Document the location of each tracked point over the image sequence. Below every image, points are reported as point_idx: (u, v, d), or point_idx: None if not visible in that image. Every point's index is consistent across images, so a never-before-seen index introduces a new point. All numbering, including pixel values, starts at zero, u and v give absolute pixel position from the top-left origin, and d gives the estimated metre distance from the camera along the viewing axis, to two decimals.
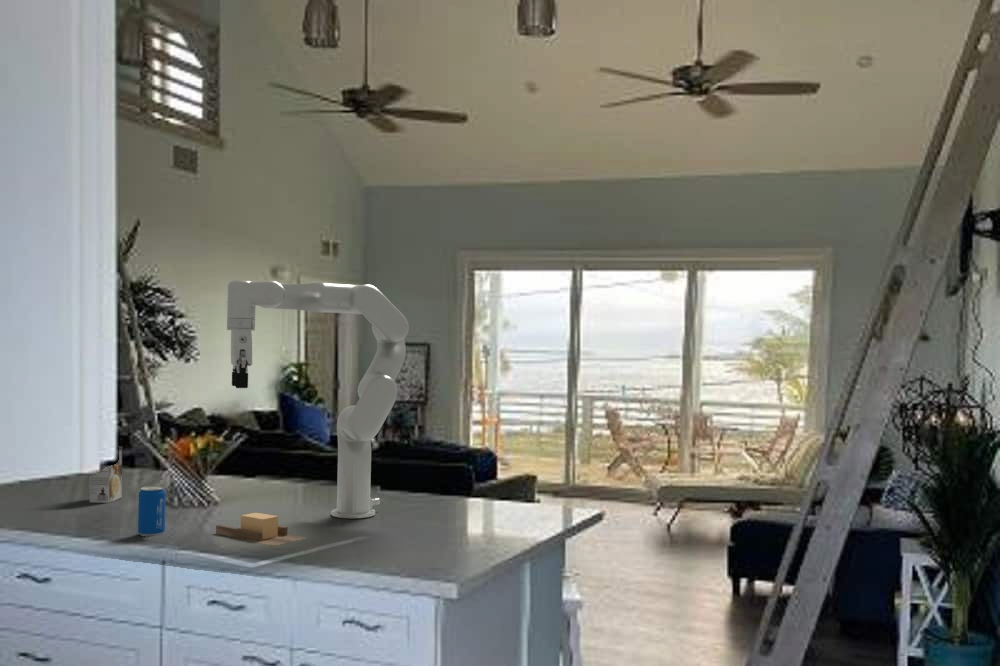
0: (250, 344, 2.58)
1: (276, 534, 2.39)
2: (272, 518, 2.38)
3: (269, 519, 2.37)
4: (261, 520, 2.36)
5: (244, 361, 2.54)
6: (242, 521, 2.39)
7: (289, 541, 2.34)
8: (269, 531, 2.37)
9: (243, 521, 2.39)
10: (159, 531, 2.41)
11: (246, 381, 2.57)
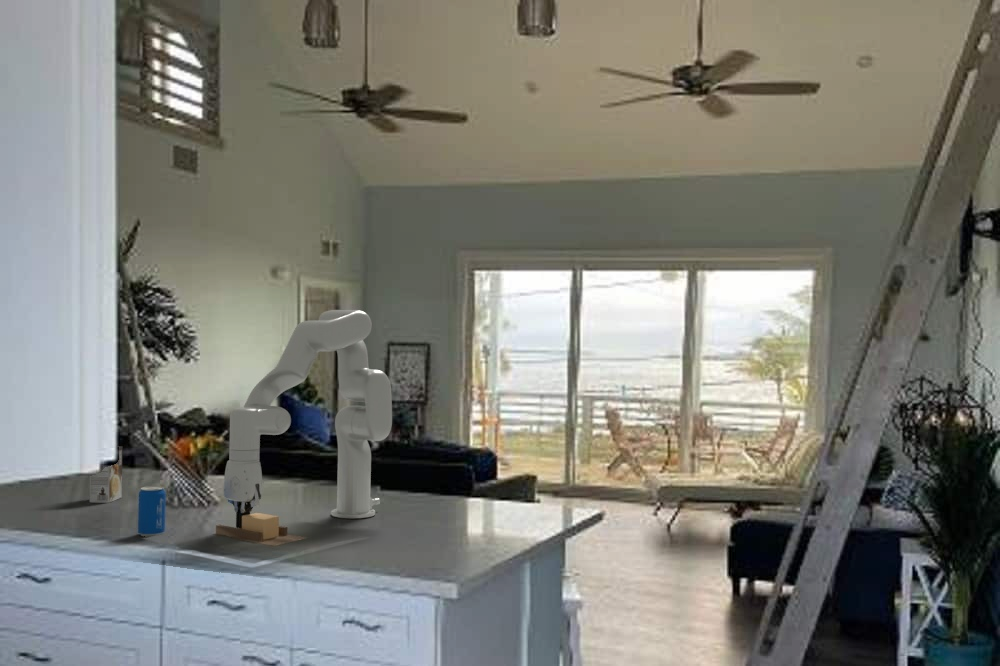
0: None
1: (277, 534, 2.39)
2: (273, 518, 2.38)
3: (270, 519, 2.37)
4: (262, 520, 2.35)
5: None
6: (243, 521, 2.39)
7: (289, 541, 2.34)
8: (270, 532, 2.37)
9: (244, 521, 2.39)
10: (159, 531, 2.41)
11: None
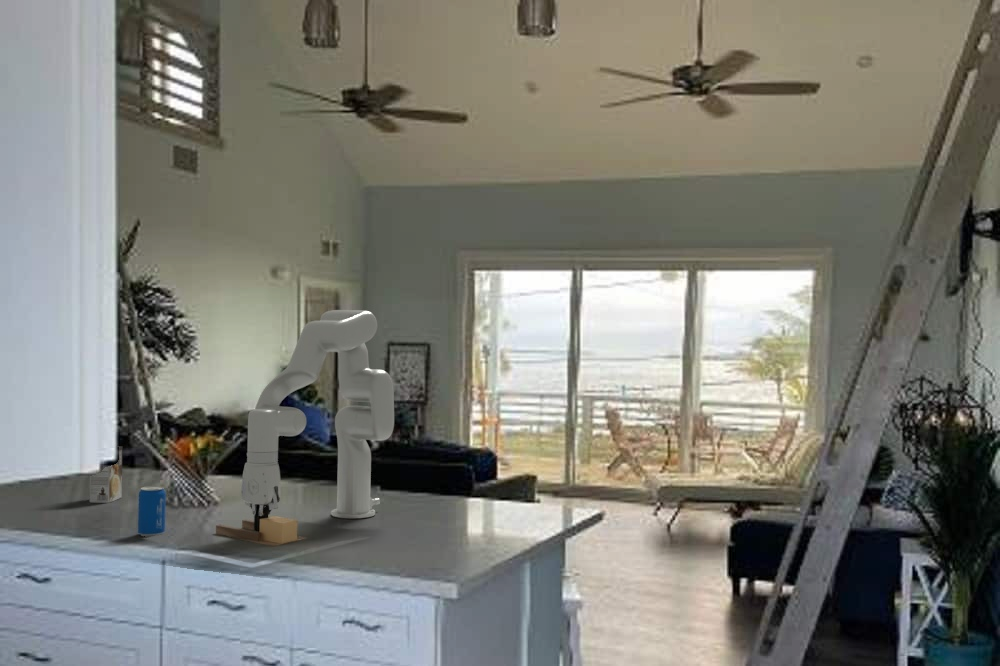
0: None
1: (295, 538, 2.35)
2: (292, 522, 2.34)
3: (288, 523, 2.33)
4: (280, 524, 2.31)
5: None
6: (261, 525, 2.35)
7: None
8: (288, 535, 2.33)
9: (262, 525, 2.35)
10: (159, 531, 2.41)
11: None
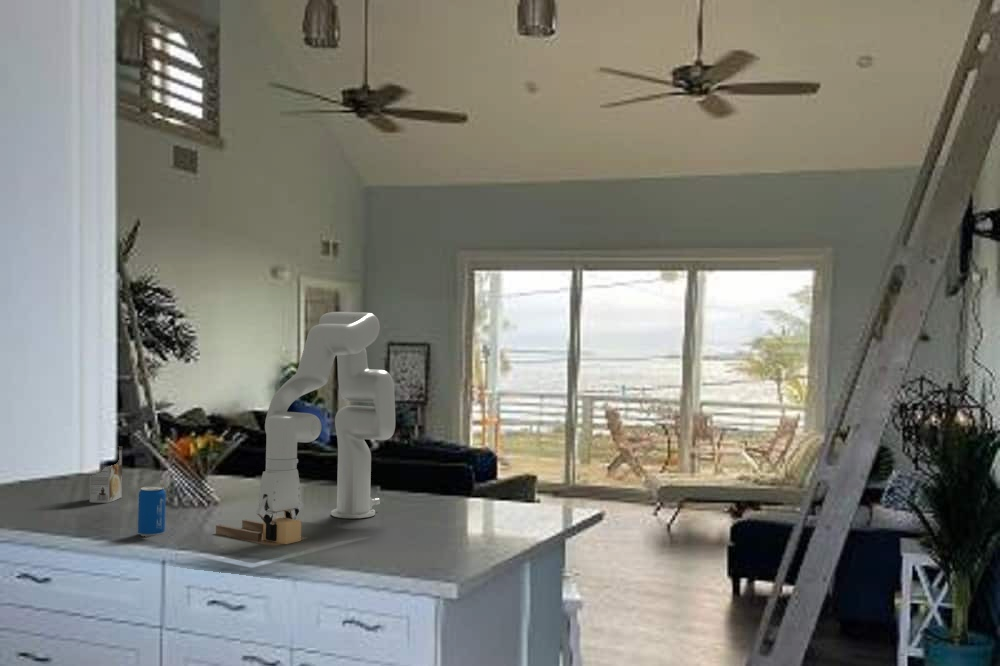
0: None
1: (299, 539, 2.35)
2: (296, 522, 2.33)
3: (292, 523, 2.32)
4: (284, 524, 2.31)
5: None
6: (265, 525, 2.35)
7: None
8: (293, 536, 2.33)
9: None
10: (159, 531, 2.41)
11: None
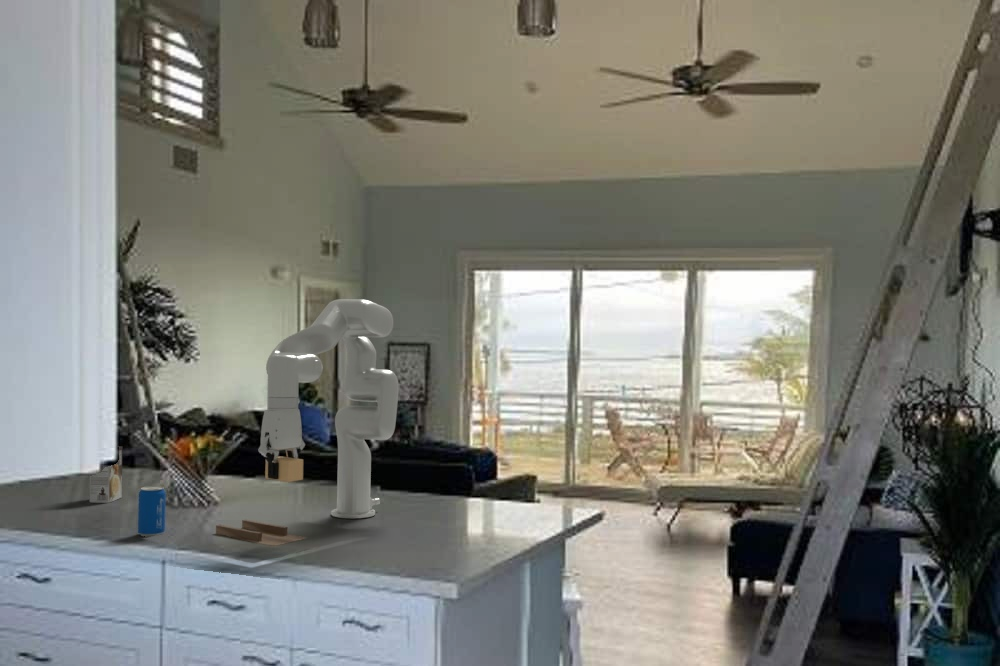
0: None
1: (301, 477, 2.35)
2: (298, 461, 2.34)
3: (294, 462, 2.33)
4: (286, 462, 2.31)
5: None
6: (267, 464, 2.35)
7: (289, 541, 2.34)
8: (295, 474, 2.33)
9: None
10: (159, 531, 2.41)
11: None
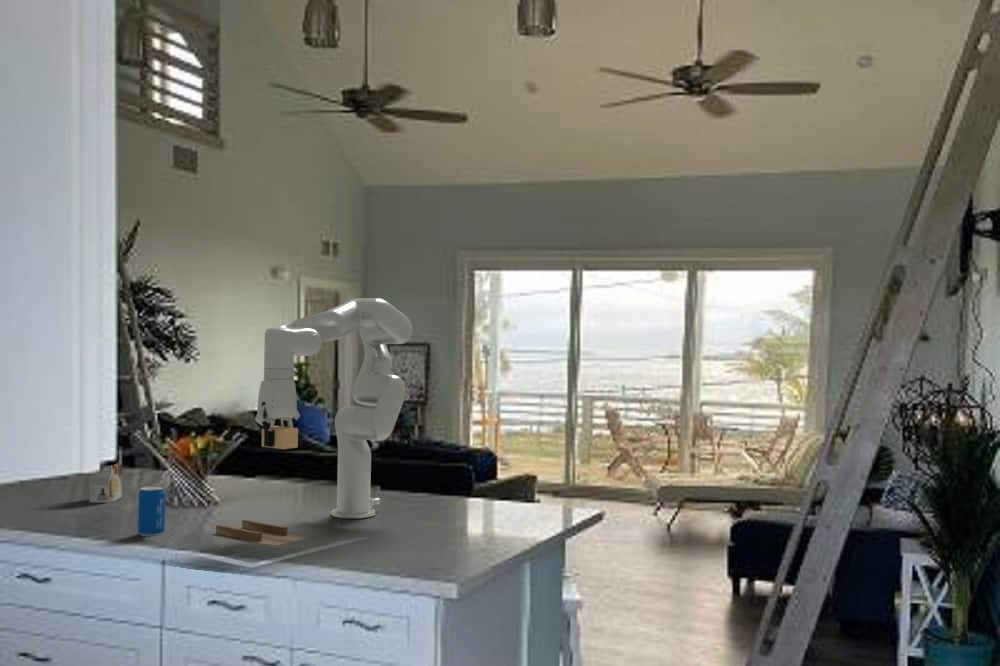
0: None
1: (296, 445, 2.46)
2: (293, 429, 2.44)
3: (289, 430, 2.44)
4: (282, 430, 2.42)
5: None
6: (263, 433, 2.46)
7: (289, 541, 2.34)
8: (290, 442, 2.44)
9: None
10: (159, 531, 2.41)
11: None
